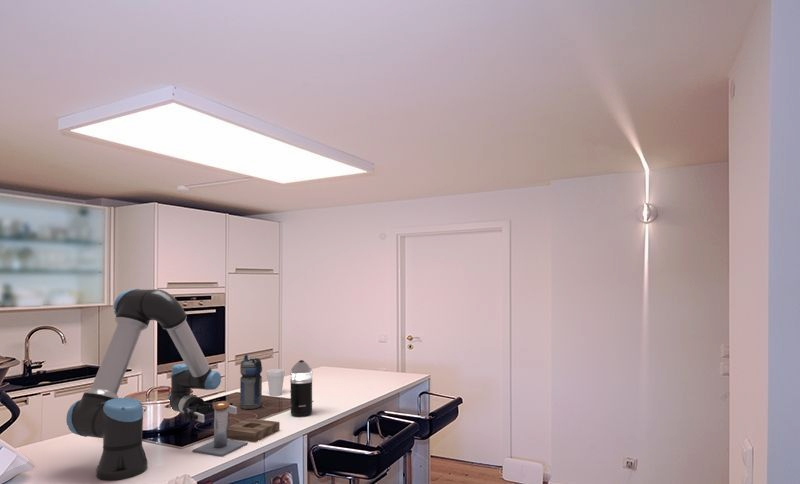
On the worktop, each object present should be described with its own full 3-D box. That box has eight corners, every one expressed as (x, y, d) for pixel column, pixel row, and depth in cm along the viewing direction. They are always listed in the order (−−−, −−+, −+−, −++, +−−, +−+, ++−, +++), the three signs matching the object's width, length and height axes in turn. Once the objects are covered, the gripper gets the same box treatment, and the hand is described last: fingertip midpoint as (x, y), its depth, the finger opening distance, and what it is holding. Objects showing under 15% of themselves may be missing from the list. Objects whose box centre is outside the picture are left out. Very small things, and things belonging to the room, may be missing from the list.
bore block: (254, 442, 201) (254, 433, 201) (222, 437, 207) (222, 428, 207) (279, 430, 216) (279, 421, 216) (248, 426, 222) (248, 418, 222)
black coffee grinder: (290, 418, 233) (290, 362, 235) (289, 412, 243) (289, 359, 245) (313, 416, 236) (313, 361, 237) (311, 410, 246) (311, 357, 247)
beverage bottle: (250, 412, 245) (250, 359, 246) (235, 407, 253) (235, 356, 255) (268, 407, 252) (268, 356, 254) (253, 403, 261) (253, 353, 263)
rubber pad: (222, 456, 186) (222, 454, 186) (192, 451, 191) (192, 449, 191) (247, 444, 198) (247, 442, 199) (219, 440, 204) (219, 438, 204)
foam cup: (266, 393, 282) (266, 369, 283) (283, 392, 285) (283, 368, 286) (267, 397, 273) (267, 372, 274) (285, 396, 276) (285, 371, 276)
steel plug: (221, 449, 191) (221, 405, 192) (208, 447, 193) (209, 404, 194) (232, 444, 196) (232, 401, 197) (219, 442, 199) (220, 400, 199)
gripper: (220, 408, 220) (248, 417, 206) (161, 422, 201) (188, 432, 187) (220, 390, 220) (248, 398, 206) (161, 402, 201) (188, 411, 187)
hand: (220, 414), depth 196 cm, fingers open, 13 cm apart
